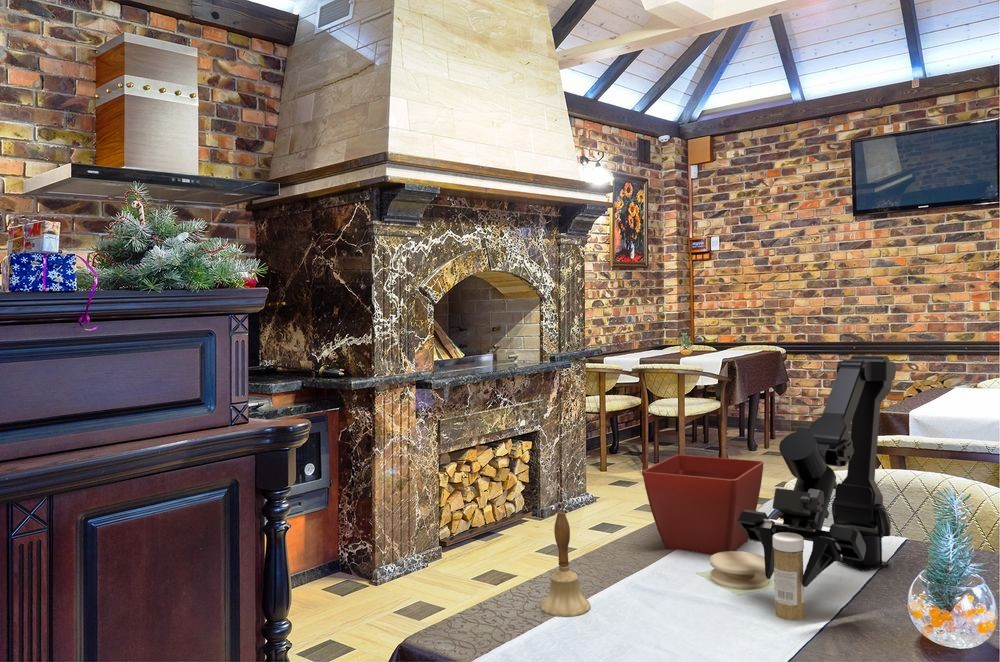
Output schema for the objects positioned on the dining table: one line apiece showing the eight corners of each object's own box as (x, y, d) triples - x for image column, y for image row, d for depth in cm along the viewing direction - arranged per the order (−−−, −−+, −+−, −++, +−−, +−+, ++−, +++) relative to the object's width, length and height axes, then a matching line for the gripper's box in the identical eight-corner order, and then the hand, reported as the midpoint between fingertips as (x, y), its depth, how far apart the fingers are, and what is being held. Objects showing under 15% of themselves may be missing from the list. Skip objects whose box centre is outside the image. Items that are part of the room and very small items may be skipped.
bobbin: (744, 566, 145) (744, 548, 144) (782, 583, 135) (782, 564, 135) (699, 574, 141) (698, 555, 141) (734, 593, 132) (733, 573, 132)
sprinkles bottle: (811, 622, 121) (810, 536, 121) (793, 629, 119) (791, 541, 118) (786, 612, 125) (784, 529, 125) (767, 620, 123) (766, 534, 122)
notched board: (759, 567, 147) (759, 561, 147) (805, 587, 136) (805, 582, 136) (695, 578, 142) (695, 572, 142) (738, 601, 131) (738, 595, 131)
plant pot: (642, 553, 157) (640, 470, 156) (678, 529, 173) (676, 453, 172) (737, 569, 146) (735, 479, 145) (766, 542, 162) (765, 461, 161)
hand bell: (557, 621, 125) (554, 521, 124) (531, 604, 132) (528, 510, 132) (600, 610, 129) (597, 513, 128) (573, 594, 136) (570, 503, 136)
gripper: (741, 461, 130) (711, 543, 123) (858, 475, 118) (833, 567, 110) (762, 498, 137) (735, 578, 129) (876, 515, 124) (853, 605, 116)
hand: (785, 581), depth 121 cm, fingers open, 5 cm apart
